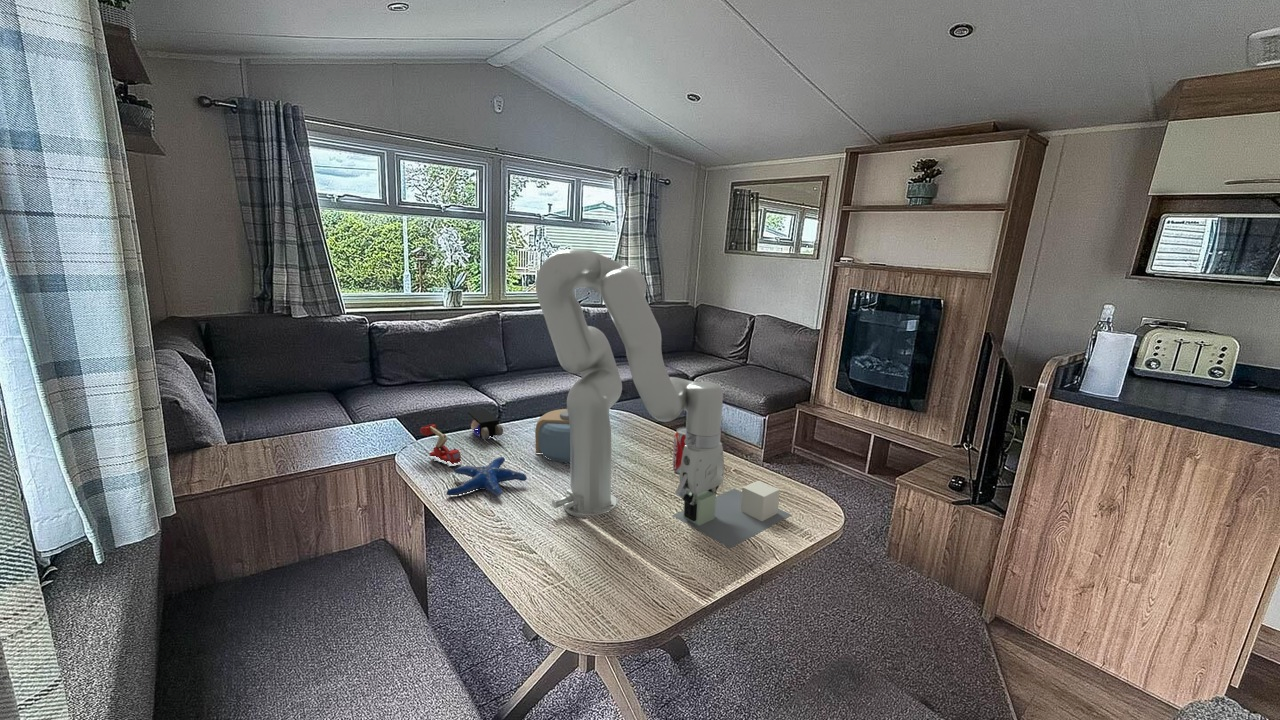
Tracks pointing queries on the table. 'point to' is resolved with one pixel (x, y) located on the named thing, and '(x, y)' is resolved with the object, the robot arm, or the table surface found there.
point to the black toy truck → (485, 424)
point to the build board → (742, 514)
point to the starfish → (486, 477)
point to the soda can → (678, 448)
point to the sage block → (704, 507)
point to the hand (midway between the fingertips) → (699, 513)
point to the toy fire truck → (441, 445)
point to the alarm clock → (554, 435)
